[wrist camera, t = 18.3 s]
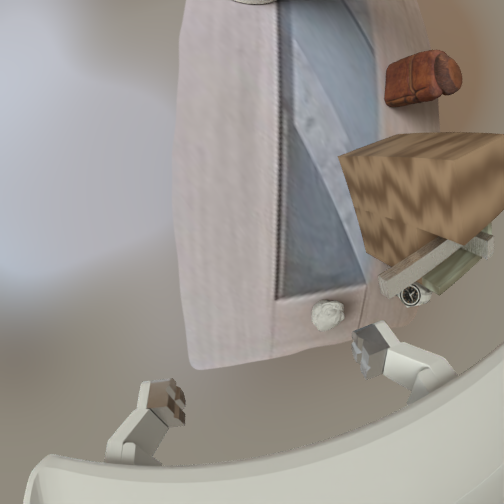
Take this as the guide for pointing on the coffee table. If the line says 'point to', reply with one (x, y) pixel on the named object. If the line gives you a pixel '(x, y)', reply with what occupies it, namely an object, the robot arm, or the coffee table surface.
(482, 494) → the robot arm
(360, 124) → the coffee table surface
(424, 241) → the stepped shelf
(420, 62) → the wooden figurine
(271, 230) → the coffee table surface
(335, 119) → the coffee table surface
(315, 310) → the white rough round lump
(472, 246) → the aluminium bracket
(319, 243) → the coffee table surface
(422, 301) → the watch
